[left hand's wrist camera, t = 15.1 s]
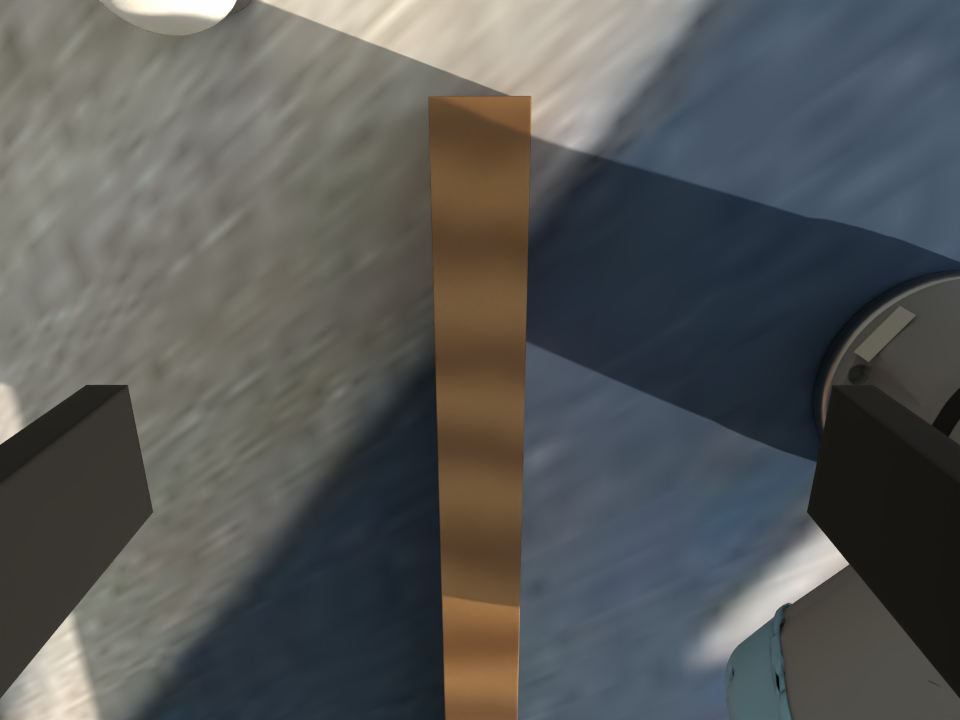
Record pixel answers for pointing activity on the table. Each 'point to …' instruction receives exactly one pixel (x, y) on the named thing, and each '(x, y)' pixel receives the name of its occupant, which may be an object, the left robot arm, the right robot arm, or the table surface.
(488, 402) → the beam
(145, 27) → the light bulb
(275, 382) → the table surface
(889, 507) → the left robot arm
